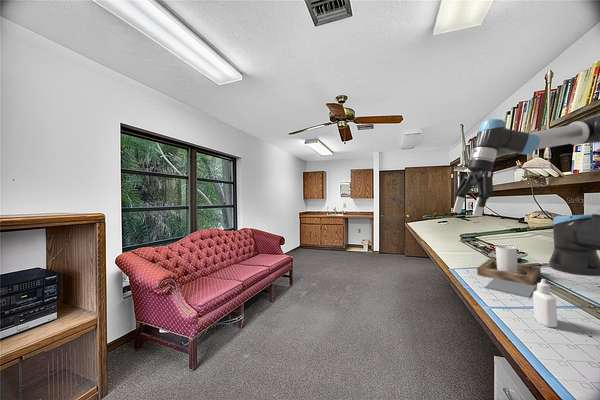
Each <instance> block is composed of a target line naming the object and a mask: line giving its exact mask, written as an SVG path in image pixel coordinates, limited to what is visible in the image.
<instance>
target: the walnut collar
mask: <svg viewBox="0 0 600 400" xmlns="http://www.w3.org/2000/svg"><path fill="white" fill-rule="evenodd" d="M494 268H496V269H494ZM517 268H518V272H521V273H522V274H521V273H518V272H517V273H518V274H517V273H512V272H506V271H500V270H497V260H496V259H491V258H489V259H487V260H486V261H485V262H484V263H482V264H481V265H479V266H478V267H476V271H477V276H482V277H487V278H490V279H491V278H492V279H494V278H497V279H502V280H507V281H512V282H517V283H522V284H528V285H533V286H535V285H534V284H535V283H536V282H537V280H538V278H539V277H540V276H541V274H542V273H541V271H542V269H541V268H542V267H541V266H539V265H533V264H526V263H525V264H524V263H519V262H517ZM523 273H525V274H523Z"/></svg>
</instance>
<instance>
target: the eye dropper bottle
mask: <svg viewBox="0 0 600 400" xmlns="http://www.w3.org/2000/svg"><path fill="white" fill-rule="evenodd" d="M536 288H537V290H534V291H533V293H532V294H533V295H532V299H533V300H532V301H533V316H534V317H533V318H534V319H535V320H536V321H537V323H539V324H540V325H543V326H544V327H547V328H558V315H557V314H558V311H557V301H556V298H555V296H554V295H552V293H551V285H550V284H548V283H547V281H546V279H545V278H541V280H540V282H537V284H536Z"/></svg>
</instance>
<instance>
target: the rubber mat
mask: <svg viewBox="0 0 600 400" xmlns="http://www.w3.org/2000/svg"><path fill="white" fill-rule="evenodd" d="M484 288H485V289H488V290H494V291H497V292H501V293H505V294H511V295H515V296H520V297H524V298H528V299H530V298H531V296H532V294H533V292H534V291H536V288H537V285H528V284H522V283H517V282H512V281H507V280H502V279H497V278H492V280H491V281H490V282H488V283H487V284H486V285H485V286H484Z"/></svg>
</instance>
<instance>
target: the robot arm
mask: <svg viewBox="0 0 600 400" xmlns="http://www.w3.org/2000/svg"><path fill="white" fill-rule="evenodd" d="M506 124H507V122H506V121H504V120H503V119H499V118H489V119H486V120H484V121H483V122H481V124H480V126H479V128H478V131H477V135H476V138H475V143H474V147H473V150H471V157H470V160H469V163H468V165H467V166H468V167H467V170H469V173H464V176H463V178H462V180H461V182H460V184H459V185H458V187H457V189H456V191H455V193H454V195H455V196H456V200H455V202H454V203H455V204H454V206H453V210H452V212H453V213H457V214H461V212H462V211H463V205H464V203H465V201H466V200H465V199H466V195H467V194H468V193H469V192H470V190H471V189H472V188H473V187H475V186H476V188H477V192H478V195H477V198H476V202H475V204H474V208H473V210H472V215H473V216H475V217H480V218H481V217H482V216H483V212H484V209H485V207H486V204H487V201H488V199H489V198H493V197H494V185H493V184H494V183H493V176H494V172H493V171H492V170H493V167H494V165H495V164H494V162H495V161H496V158H497V157H502V156H508V155H514V154H519V155H531V154H532V153H534V152H535V151H536V150H541V149H547V148H553V147H558V146H563V145H569V144H570V145H572V146H578V145H584V144H594V143H600V114H597V115H594V116H592V117H589V118H585V119H582V120H578V121H577V120H576V121H573V122H571V123H569V124H567V125H564V126H558V127H553V128H548V129H542V130H538V131H531V132H526V131H519V130H515V129H510V128H506V126H507V125H506ZM552 221H553V222H552V230H553V231H552V232H553V252H552V254H551V257H550V259H549V261H548V263H549V267H550V268H551V269H553V270H556V271H559V272H560V271H561V272H563V273H568V274H569V273H570V274H575V275H585V276H600V256H599V254H598V251H600V209H599V210H596V211H595V212H593V213H592V214H574V215H573V214H570V215H569V214H568V215H557V216H554V217H553V220H552Z"/></svg>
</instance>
